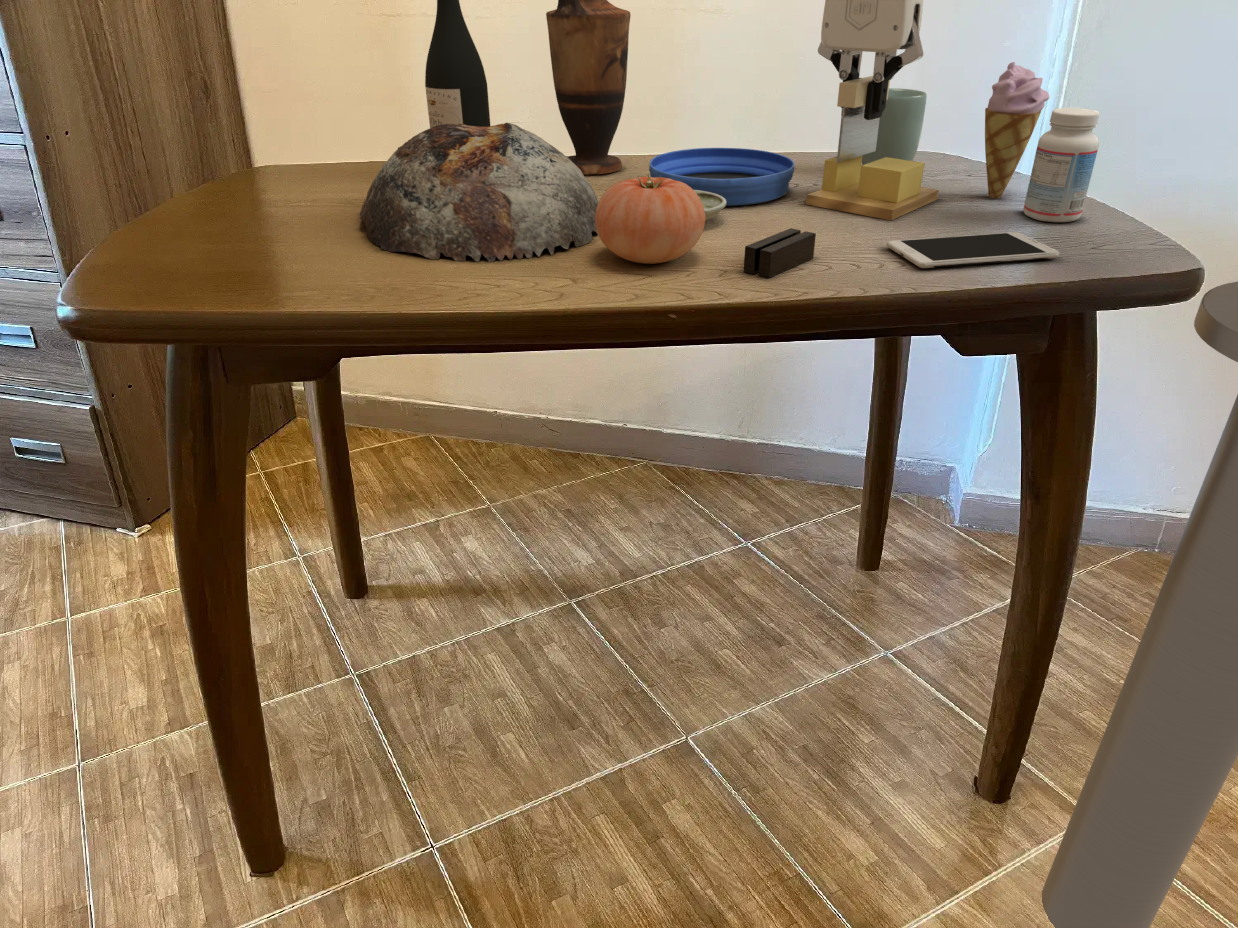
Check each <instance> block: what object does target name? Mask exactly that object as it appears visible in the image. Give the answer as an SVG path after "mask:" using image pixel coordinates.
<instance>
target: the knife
mask: <svg viewBox="0 0 1238 928" xmlns="http://www.w3.org/2000/svg"><path fill="white" fill-rule="evenodd" d="M859 78H860V79H855V80H850V81H846V82H843V81H842V82H841V81H840V82H839V84H838V85H839V86H838V95H837V102H836V103H837V105H836V107H838V108H841V107H844V108H841V112H842V116H840V128H839V136H838V146H837V153H836V154H837V155H836V156H837V163H841V162H844V161H847V160H850V159H853V158H856V157H859V156H862V155H865V154H868V153H871V152H874V151H876V144H877V136H878V128H879V120H880V117H879V118H876V119H872V120H866V119H865V118H864V111H865V105H866V96H867V88H868V84H869V82H872V80H873V75H870V76H864V77H859ZM890 84H891V80H889V83H888V91H887V99H888V92H889V88H890ZM887 99H886V100H887Z"/></svg>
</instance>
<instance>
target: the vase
mask: <svg viewBox="0 0 1238 928" xmlns="http://www.w3.org/2000/svg"><path fill="white" fill-rule="evenodd" d="M545 19H546V24H547V34H548V43H549V53H550V55H549V56H550V62H551V63H550V64H551V72H552V80H553V87H554V91H555V97H556V98H555V99H556V102H557V106H558V110H559V114H560V116H561V120H562V121H563V124H564V127H565V129H566V131H567V133H568V137H569V139H570V140H571V143H572V145H573V149H574V152H575V155H570V156H567V157H568V158H569V159H570V160H571V161H572V162H573V163H574V164H575V165H576V166H577V167H578V168H579V169H580V170H581V172H582V173H583V175H584V176H585V175H586V176H587V175H604V174H605V175H606V174H611V173H615V172H618V171H619V170H622V167H623V164H622V160H621V158H620V157H617V156H615V155H611V154H609V151H610V149H611V146H612V143H613V139H614V137H615V135H616V132H617V130H618V127H619V123H620V121H621V118H622V114H623V111H624V102H625V96H626V89H627V79H628V78H627V76H628V56H629V34H630V23H631V11H629V10H627V9H624V8H620V7H617V6H616V5H614V4H613V3H611V2H610V1H609V0H557V6H556V9H553V10H549V11H546V12H545Z"/></svg>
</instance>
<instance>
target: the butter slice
mask: <svg viewBox="0 0 1238 928" xmlns="http://www.w3.org/2000/svg"><path fill="white" fill-rule="evenodd" d="M861 166H862V156H859V157H856V158H853V159H850V160H847V161H844V162H841V163H837V155H836V156H834V157H833V156H832V157H830V158H827V159H825V160H824V164H823V174H822V183H821V189H822V190H826V191H832V192H836V191H838V190H841V189H844V188H847V187H849V186H852V185H855V184H857V183H859V178H860V174H861Z"/></svg>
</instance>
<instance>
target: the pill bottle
mask: <svg viewBox="0 0 1238 928" xmlns="http://www.w3.org/2000/svg"><path fill="white" fill-rule="evenodd" d="M1099 118H1100V111H1098V110H1094V109H1089V108H1082V107H1059V108H1054V109H1053V110H1051V115H1050V119H1049V122H1050V123H1049V126H1050V130H1048V131H1046V132H1044V133H1043V134H1042V135H1041V136H1040V137H1039V139H1038V142H1037V146H1036V150H1035V155H1034V160H1033V164H1032V168H1031V173H1030V178H1029V183H1028V187H1027V191H1026V197H1025V201H1024V204H1023V213H1024V215H1026V216H1027V217H1029V218H1031V219H1034V220H1036V221H1041V222H1047V223H1071V222H1074V221H1077V220H1079V219H1080V218H1081V217H1082V213H1083V211H1084V206H1085V204H1086V203H1085V202H1086V198H1087V194H1088V190H1089V186H1090V182H1091V178H1092V174H1093V171H1094V166H1095V162H1096V159H1097V155H1098V151H1099V146H1100V140H1099V138H1098V137H1097V135H1096V134H1095V133H1093V129H1095V128H1096V127H1097V125H1098V122H1099Z"/></svg>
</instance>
